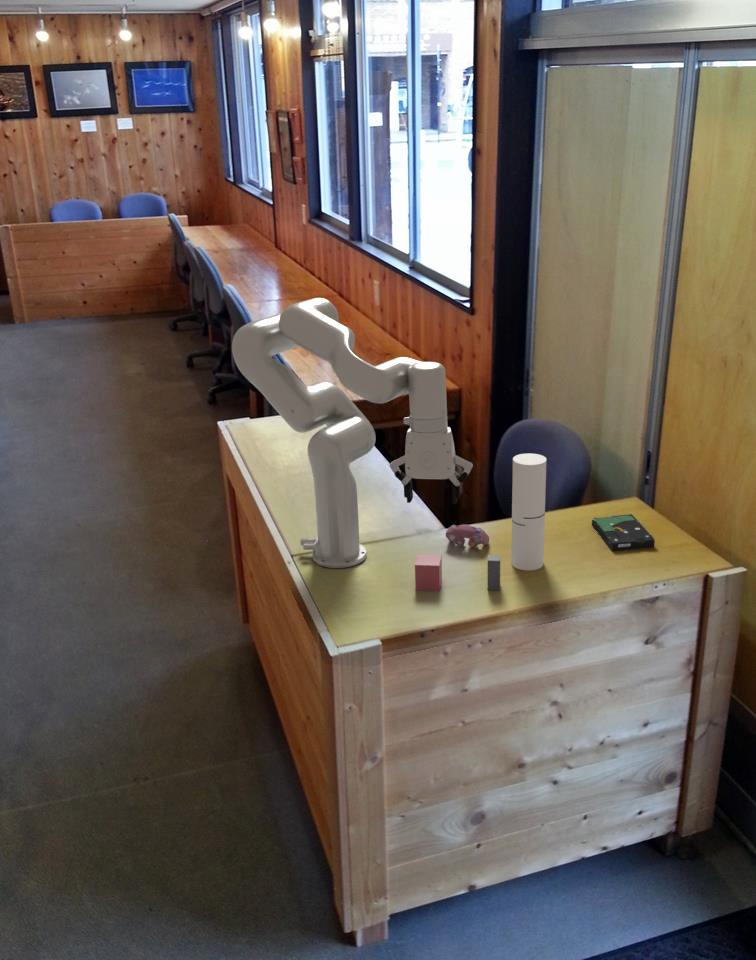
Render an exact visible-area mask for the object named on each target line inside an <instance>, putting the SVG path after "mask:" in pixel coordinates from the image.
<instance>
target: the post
mask: <svg viewBox="0 0 756 960" xmlns="http://www.w3.org/2000/svg"><path fill="white" fill-rule="evenodd" d="M500 590H501V554H500V555H499V554H498V555H497V554H487V591H500Z"/></svg>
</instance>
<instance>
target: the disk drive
mask: <svg viewBox="0 0 756 960" xmlns="http://www.w3.org/2000/svg"><path fill="white" fill-rule="evenodd" d="M592 526H593V527H592ZM591 527H592V528H593V530H594V529H595V530H596V531H597V532H598V533H597V532H596V531H595V530H594V531H595V532H596V533H597V534H598V536H599V535H600V536H601V537H600V536H599V537H600V538H601V539H602V541H603V540H604V541H603V542H604V543H605V545H607V547H608V548H609V550H610V549H611V550H610V551H611V552H620V551H635V550H644V549H645V550H646V549H654V548H655V543H656V542H655V540H656V539H655V538H654V537H653V535H651V533H650V532H649V531H648V530H647V529H646V528H645V526H643V525H642V524H641V523H640V521H639V520H638V519H637V518H636V517H635V516H634V515H633V514H620V515H618V514H617V515H611V516H604V517H596V516H595V517H593V519H591Z"/></svg>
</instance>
